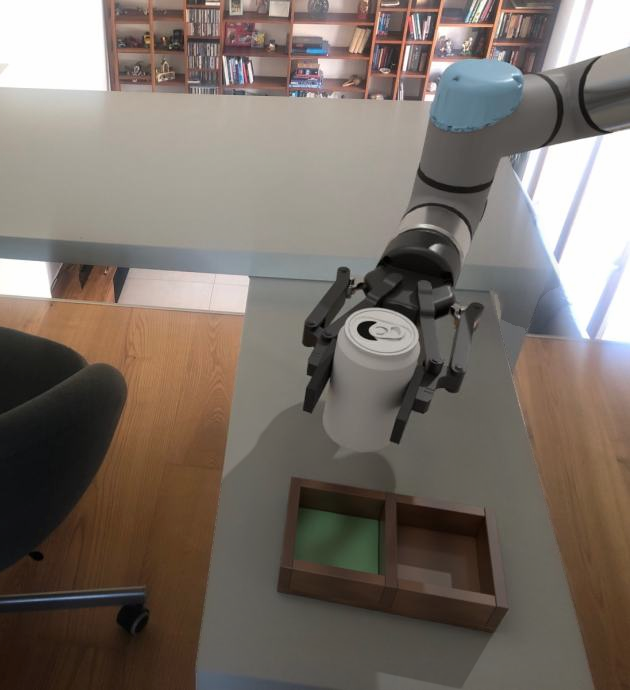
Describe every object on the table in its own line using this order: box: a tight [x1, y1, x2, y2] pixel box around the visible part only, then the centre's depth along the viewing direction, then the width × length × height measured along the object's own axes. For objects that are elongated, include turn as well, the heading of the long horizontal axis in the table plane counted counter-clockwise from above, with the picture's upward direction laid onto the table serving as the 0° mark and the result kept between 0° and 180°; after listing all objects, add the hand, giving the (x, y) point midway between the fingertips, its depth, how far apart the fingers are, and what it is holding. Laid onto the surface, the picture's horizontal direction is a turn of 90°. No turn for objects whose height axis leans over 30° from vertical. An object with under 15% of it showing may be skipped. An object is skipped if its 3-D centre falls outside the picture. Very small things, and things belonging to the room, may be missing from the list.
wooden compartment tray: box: [276, 476, 510, 634], centre depth 63 cm, size 19×10×4 cm, turn 77°
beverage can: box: [322, 308, 420, 453], centre depth 58 cm, size 6×6×12 cm
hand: (352, 415), depth 54 cm, fingers closed on beverage can, 6 cm apart
